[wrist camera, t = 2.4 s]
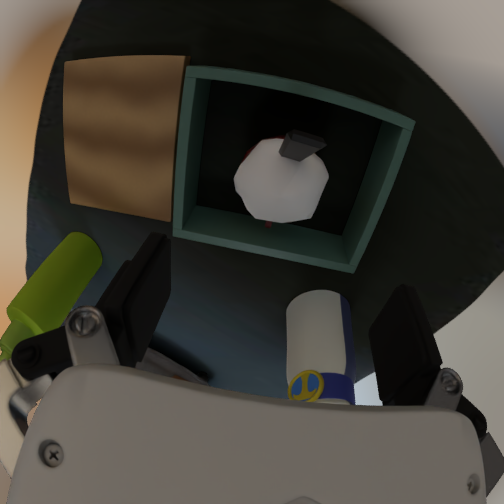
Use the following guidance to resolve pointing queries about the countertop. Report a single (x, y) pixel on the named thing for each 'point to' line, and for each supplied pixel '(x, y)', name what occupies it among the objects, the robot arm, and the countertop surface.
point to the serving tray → (169, 368)
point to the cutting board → (123, 132)
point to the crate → (280, 234)
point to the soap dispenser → (51, 290)
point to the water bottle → (320, 349)
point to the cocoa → (282, 177)
